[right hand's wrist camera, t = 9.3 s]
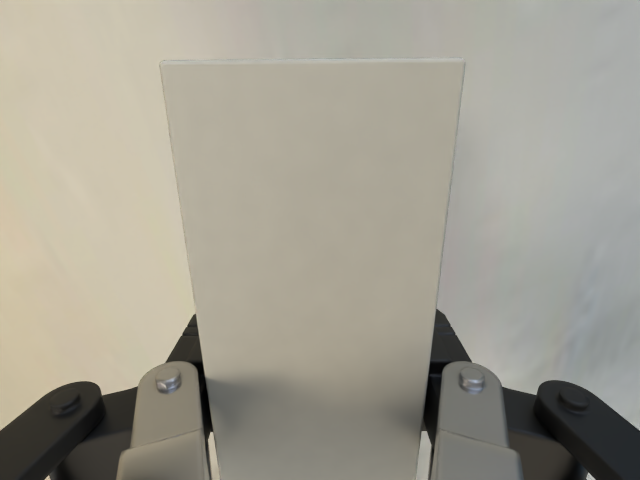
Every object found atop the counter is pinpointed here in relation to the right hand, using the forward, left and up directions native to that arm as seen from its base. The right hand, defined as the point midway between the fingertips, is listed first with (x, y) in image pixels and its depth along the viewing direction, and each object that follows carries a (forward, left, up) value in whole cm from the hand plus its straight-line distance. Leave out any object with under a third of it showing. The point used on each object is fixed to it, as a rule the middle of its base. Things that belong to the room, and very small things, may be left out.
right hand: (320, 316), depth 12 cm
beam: (+8, -25, -1) cm, 27 cm away
